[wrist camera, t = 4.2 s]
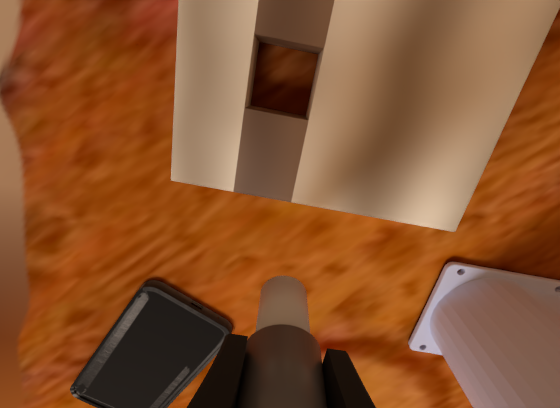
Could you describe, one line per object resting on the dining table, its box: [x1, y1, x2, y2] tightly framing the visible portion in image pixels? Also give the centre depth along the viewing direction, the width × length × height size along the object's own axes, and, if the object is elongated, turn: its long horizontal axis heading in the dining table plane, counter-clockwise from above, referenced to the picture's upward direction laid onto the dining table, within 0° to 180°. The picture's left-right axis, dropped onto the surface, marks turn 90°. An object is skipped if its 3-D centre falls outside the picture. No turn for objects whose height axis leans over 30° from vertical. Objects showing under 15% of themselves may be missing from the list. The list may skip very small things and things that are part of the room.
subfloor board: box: [171, 0, 560, 232], centre depth 15 cm, size 16×12×2 cm
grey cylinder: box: [235, 276, 328, 408], centre depth 9 cm, size 3×3×7 cm
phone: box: [70, 280, 232, 408], centre depth 24 cm, size 8×1×15 cm
